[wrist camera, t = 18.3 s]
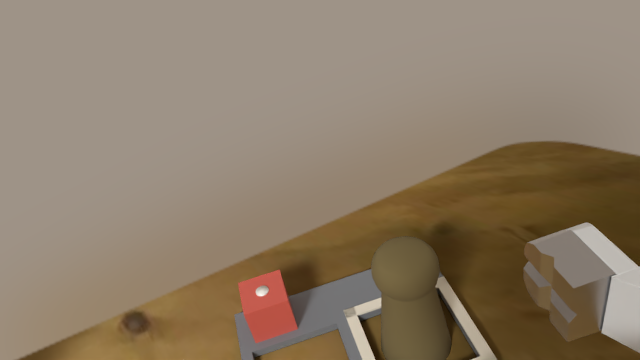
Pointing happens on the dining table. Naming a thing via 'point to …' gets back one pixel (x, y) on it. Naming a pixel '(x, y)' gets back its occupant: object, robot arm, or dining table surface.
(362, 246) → the dining table surface
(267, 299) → the red cube
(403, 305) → the cork
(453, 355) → the dining table surface
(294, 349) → the dining table surface
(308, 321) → the grey and white frame
